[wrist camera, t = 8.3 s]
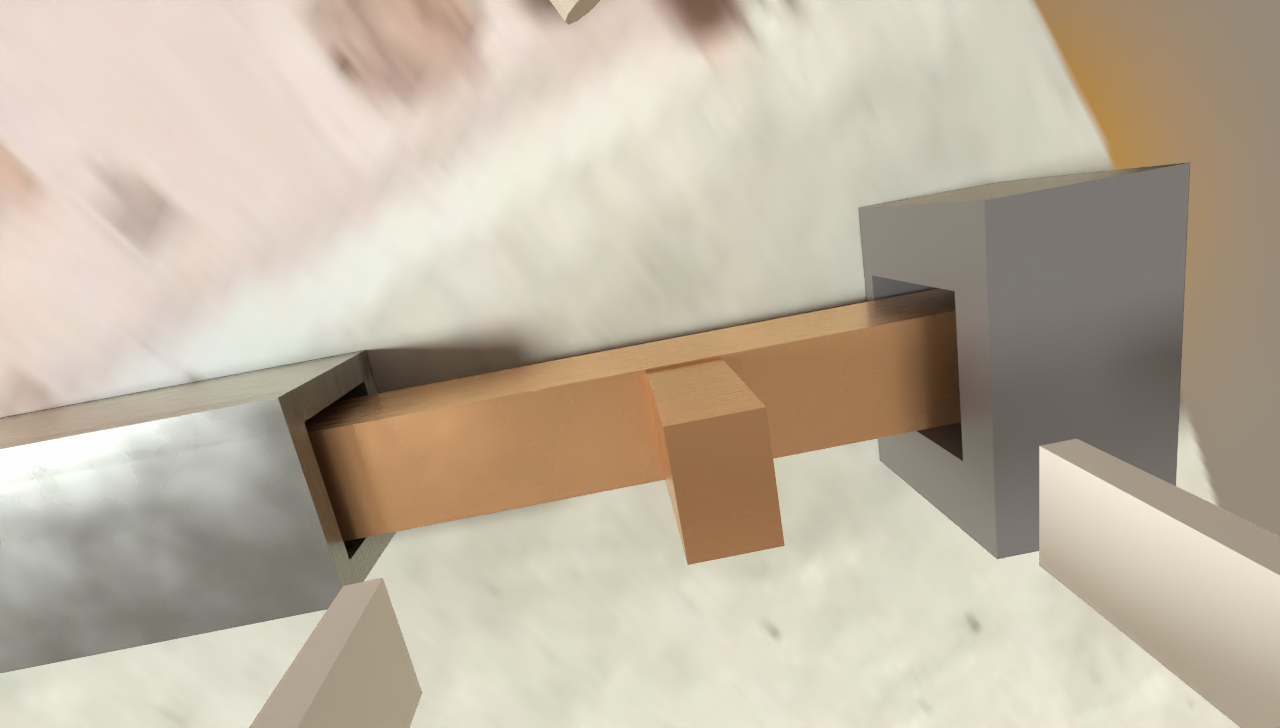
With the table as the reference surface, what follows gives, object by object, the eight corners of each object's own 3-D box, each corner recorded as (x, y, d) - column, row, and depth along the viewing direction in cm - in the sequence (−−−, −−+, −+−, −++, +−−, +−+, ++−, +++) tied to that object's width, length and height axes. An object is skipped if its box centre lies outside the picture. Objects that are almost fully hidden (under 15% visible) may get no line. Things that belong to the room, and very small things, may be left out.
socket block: (858, 207, 27) (984, 200, 18) (998, 182, 27) (1190, 162, 18) (880, 460, 30) (996, 559, 21) (1005, 435, 30) (1174, 523, 21)
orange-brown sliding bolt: (270, 413, 26) (52, 539, 15) (946, 287, 26) (1164, 327, 16) (301, 505, 27) (118, 680, 16) (950, 381, 27) (1159, 475, 17)
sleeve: (-17, 420, 26) (-252, 496, 19) (364, 350, 27) (277, 397, 19) (56, 576, 28) (-133, 699, 21) (411, 507, 29) (348, 604, 21)
